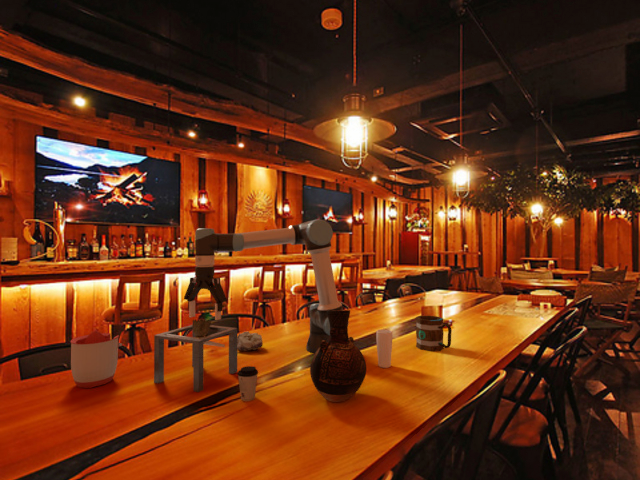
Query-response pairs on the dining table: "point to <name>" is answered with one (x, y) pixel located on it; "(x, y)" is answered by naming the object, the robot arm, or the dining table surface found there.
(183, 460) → the dining table surface
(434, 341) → the mug
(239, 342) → the geode
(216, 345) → the trapdoor
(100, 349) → the citrus juicer
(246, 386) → the coffee cup
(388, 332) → the drinking glass
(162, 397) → the dining table surface
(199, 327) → the brown rounded piece
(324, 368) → the ceramic vessel
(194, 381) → the stand
